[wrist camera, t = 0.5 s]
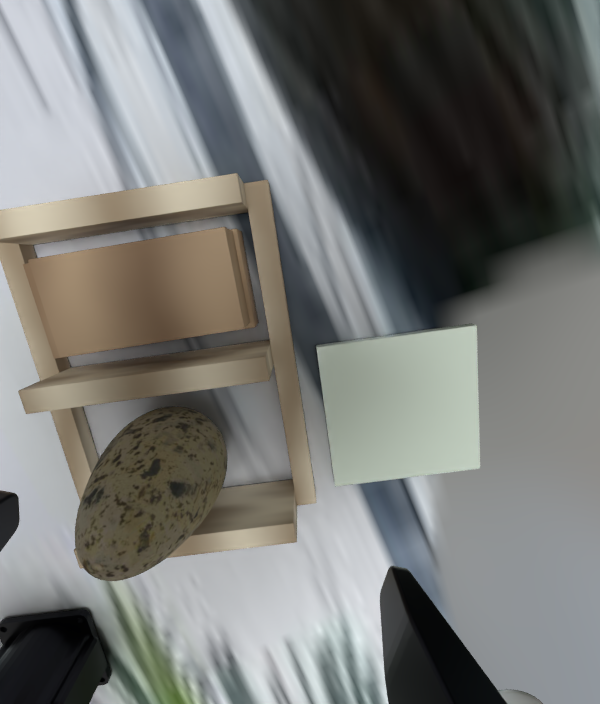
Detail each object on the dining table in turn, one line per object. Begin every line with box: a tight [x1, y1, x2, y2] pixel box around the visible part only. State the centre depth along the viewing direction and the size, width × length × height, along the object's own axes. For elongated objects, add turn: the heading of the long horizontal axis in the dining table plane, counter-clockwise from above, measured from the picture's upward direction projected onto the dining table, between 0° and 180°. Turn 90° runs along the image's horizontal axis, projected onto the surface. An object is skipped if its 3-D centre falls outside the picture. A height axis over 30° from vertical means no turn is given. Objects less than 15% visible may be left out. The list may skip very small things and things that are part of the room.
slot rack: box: [0, 173, 316, 568], centre depth 19 cm, size 14×19×4 cm
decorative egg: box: [75, 407, 227, 581], centre depth 17 cm, size 6×6×10 cm
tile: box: [316, 324, 480, 487], centre depth 21 cm, size 9×9×1 cm
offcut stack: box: [23, 227, 259, 359], centre depth 18 cm, size 11×5×4 cm, turn 99°
